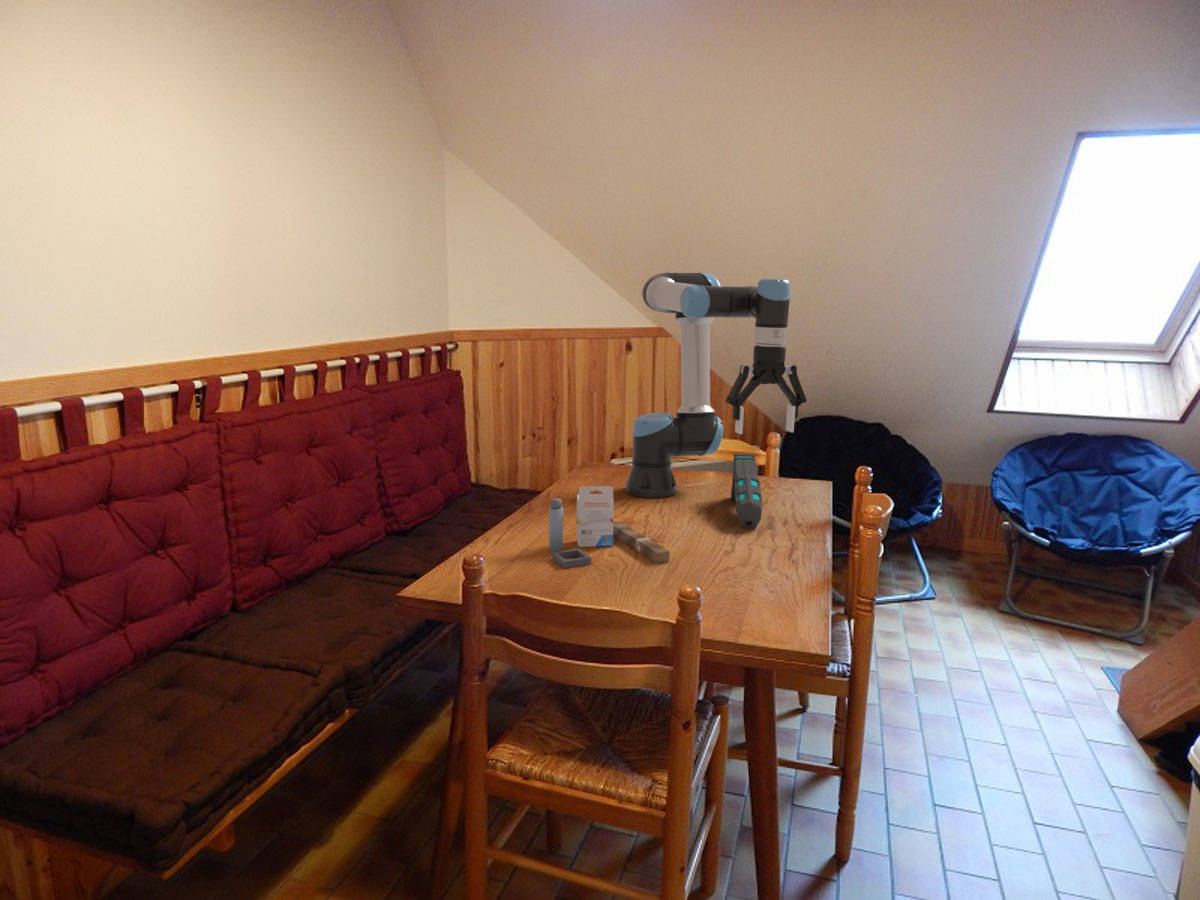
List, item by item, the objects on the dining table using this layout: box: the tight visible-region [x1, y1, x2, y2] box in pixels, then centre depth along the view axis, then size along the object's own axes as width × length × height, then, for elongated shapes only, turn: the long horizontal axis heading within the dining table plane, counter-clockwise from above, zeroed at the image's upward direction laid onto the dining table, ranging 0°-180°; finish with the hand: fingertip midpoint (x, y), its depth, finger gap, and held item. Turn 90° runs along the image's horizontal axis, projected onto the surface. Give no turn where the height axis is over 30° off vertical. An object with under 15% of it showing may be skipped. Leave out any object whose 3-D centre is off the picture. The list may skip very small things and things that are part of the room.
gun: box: [730, 453, 763, 529], centre depth 211 cm, size 7×29×15 cm, turn 174°
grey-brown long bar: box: [613, 521, 670, 565], centre depth 182 cm, size 24×3×3 cm, turn 26°
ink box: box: [576, 485, 615, 548], centre depth 183 cm, size 8×5×15 cm, turn 96°
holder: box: [551, 548, 592, 569], centre depth 172 cm, size 7×7×2 cm
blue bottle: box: [548, 497, 564, 552], centre depth 179 cm, size 3×3×12 cm
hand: (764, 432), depth 188 cm, fingers open, 13 cm apart
